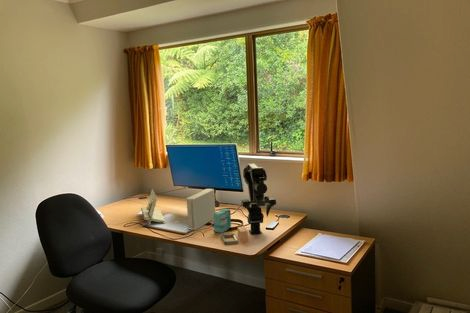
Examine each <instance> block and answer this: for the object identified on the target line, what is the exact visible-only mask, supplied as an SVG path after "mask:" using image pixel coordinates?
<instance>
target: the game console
mask: <svg viewBox="0 0 470 313" xmlns="http://www.w3.org/2000/svg"><path fill="white" fill-rule="evenodd" d="M215 201H216V200H215V189H214V188H206V189H204V190H201V191H199V192H197V193H196V194H193V195H191V196H189V197H186V208H187V209H186V211H187V213H186V214H187V226H188V227H187V229H188V228H191V229H193V230H192V231H197V230H198V229H199V228H201V227H203V226H204V225H206V224H208V223H209V222H211V221H213V220H214V213H216V202H215Z"/></svg>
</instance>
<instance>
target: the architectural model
mask: <svg viewBox="0 0 470 313" xmlns="http://www.w3.org/2000/svg"><path fill="white" fill-rule="evenodd" d="M156 195H157V194H156V193H155V190H154V189H153V188H151V192H150V195H149V199H148V204H147V206H141V208H140V210H141V213H142V217H143V220H145V221H146V220H147V223H148V225H149V224H150V225H151V222H157V223H161V222H166V223H167V221H166V219H165V217H164V214H163V212H162V211H161V209H156V205H157V204H156V203H157V200H158V197H157V196H156ZM164 219H165V220H164Z"/></svg>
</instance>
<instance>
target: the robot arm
mask: <svg viewBox="0 0 470 313" xmlns="http://www.w3.org/2000/svg"><path fill="white" fill-rule="evenodd" d="M242 170H243V171H242V177H243V180H244V183H245V184H246V185H247V190H248V196H249V199H248V198H247V199H242V200H241V201H240V203H241V206H242V208H244V209H246V210H247V213H248V214H247V218H246V219H247V224H248V225H249V226H250V230H248V231H249V232H248V233H250V235H259V234H263V232H262V230H261V224H263V223H264V218H265V217H264V216H265V215H266V218H268V217H269V214H270V211H271V209H272V208H273V207H274V206H275V205H277V199H275V198H274V197H270V196H265V194H266V193H267V191H268V186H267V185H266V184H265V181H267V179H268V176H267V171H266V169H264V166H261V167H260V166H258V165H256V163H247V164H246V166H245V167H244V168H243V169H242ZM261 207H266V211H265V212H266V214H265V215H264V214H263V211H262V208H261Z"/></svg>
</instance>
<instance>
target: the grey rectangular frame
mask: <svg viewBox="0 0 470 313" xmlns="http://www.w3.org/2000/svg"><path fill="white" fill-rule="evenodd" d="M220 236H221V240H222V241H223V244H224V245H226V246H227V245H232V244H234V245H235V244H239V239H237V237H236V235H235V233H228V234H221V235H220ZM226 238H233V240H226Z"/></svg>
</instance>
